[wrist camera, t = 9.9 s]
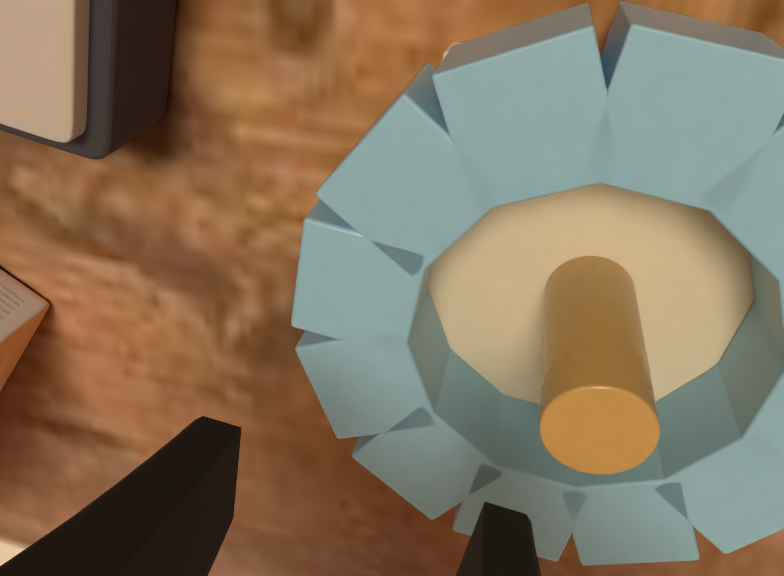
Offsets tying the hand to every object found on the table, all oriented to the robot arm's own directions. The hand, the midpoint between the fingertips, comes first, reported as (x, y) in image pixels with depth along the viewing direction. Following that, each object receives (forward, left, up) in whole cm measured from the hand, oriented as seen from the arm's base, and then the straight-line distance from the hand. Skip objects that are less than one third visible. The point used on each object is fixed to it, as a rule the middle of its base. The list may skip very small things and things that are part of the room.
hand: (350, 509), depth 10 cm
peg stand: (-4, -1, -9) cm, 9 cm away
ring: (-3, -1, -7) cm, 8 cm away
